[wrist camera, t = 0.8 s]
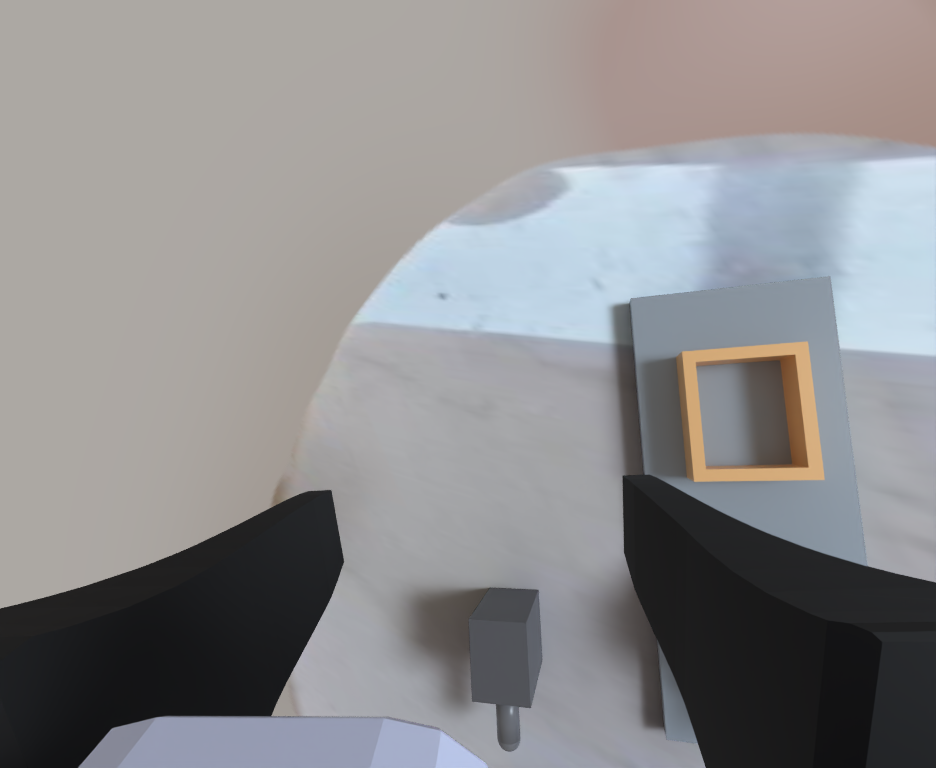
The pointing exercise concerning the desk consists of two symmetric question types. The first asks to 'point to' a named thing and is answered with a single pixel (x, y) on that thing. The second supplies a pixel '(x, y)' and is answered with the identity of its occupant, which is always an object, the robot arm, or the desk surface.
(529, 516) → the desk surface
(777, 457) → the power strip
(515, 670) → the dark gray plug
